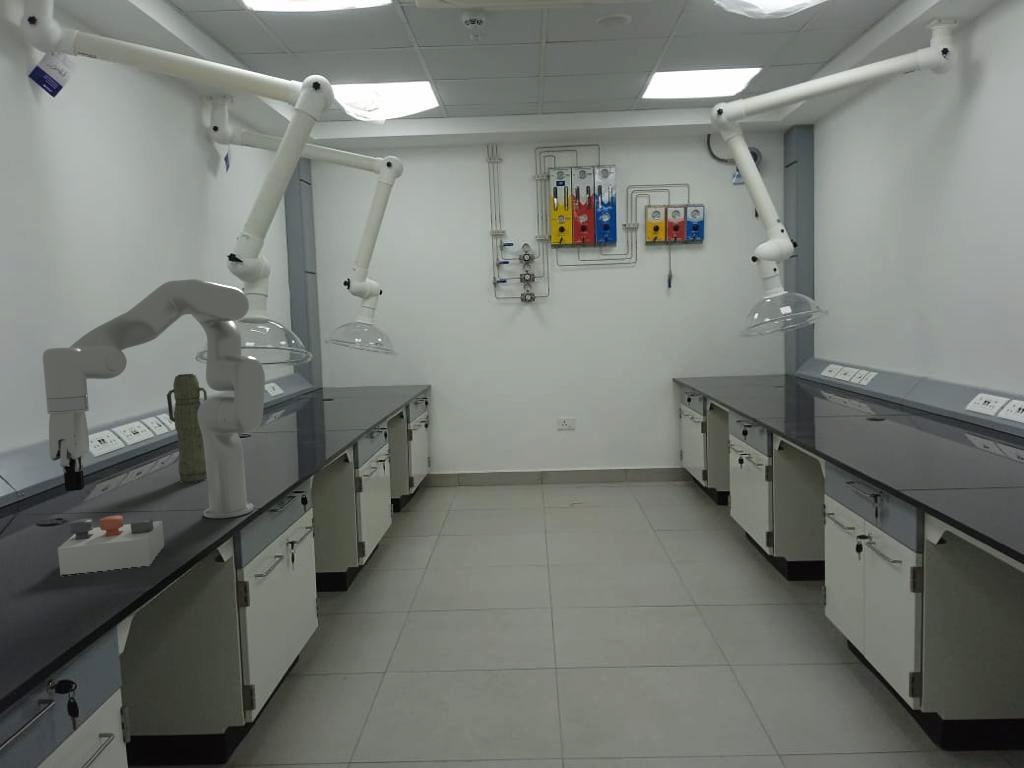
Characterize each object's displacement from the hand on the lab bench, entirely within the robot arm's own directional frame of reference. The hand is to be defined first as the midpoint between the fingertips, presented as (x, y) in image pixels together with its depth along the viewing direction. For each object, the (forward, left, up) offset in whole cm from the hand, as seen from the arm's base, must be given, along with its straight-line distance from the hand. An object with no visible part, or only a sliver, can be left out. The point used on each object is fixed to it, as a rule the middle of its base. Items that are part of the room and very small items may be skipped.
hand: (75, 489), depth 153 cm
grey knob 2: (0, +12, -14) cm, 19 cm away
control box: (0, +6, -17) cm, 18 cm away
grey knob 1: (0, 0, -13) cm, 13 cm away
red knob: (0, +6, -13) cm, 14 cm away
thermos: (-80, +9, -17) cm, 83 cm away
